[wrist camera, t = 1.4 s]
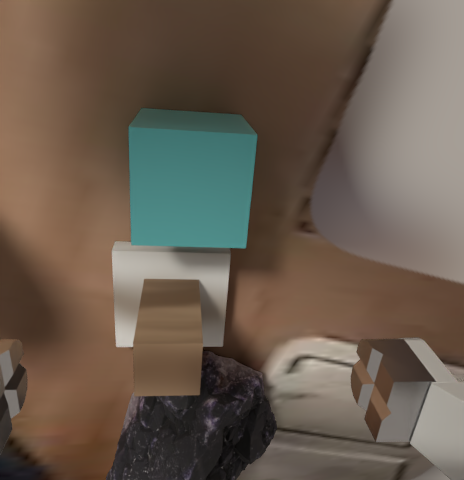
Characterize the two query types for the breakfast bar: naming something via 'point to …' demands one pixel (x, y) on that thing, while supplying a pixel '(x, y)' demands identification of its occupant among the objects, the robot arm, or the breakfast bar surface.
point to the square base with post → (169, 312)
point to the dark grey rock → (197, 428)
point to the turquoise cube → (190, 178)
